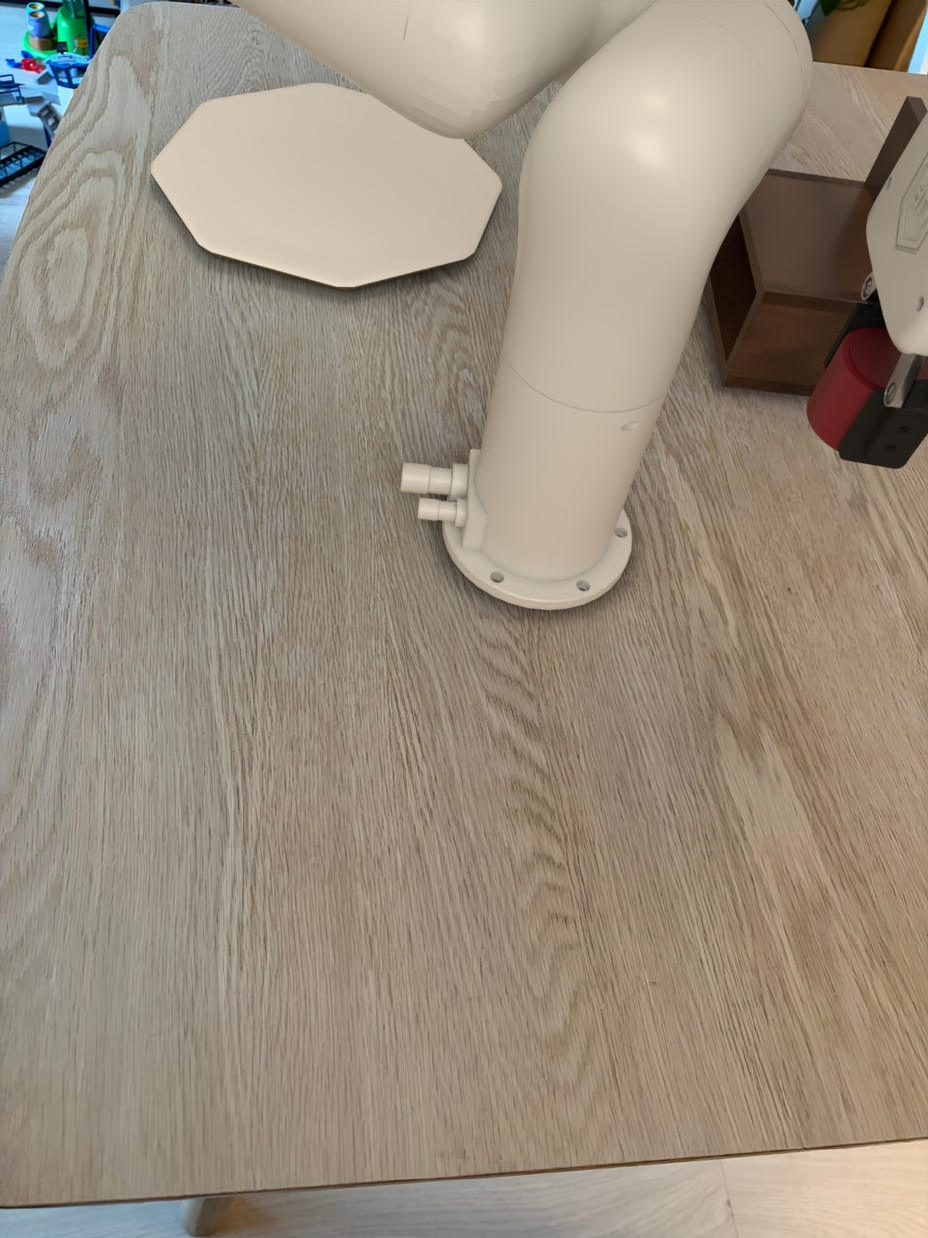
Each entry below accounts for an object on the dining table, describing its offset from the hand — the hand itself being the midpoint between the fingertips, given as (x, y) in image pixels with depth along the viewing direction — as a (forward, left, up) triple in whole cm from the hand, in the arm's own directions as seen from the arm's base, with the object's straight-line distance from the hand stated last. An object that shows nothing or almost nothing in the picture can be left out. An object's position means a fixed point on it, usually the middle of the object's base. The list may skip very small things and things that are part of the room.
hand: (861, 413), depth 50 cm
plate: (-29, +43, -19) cm, 55 cm away
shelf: (+9, +32, -19) cm, 38 cm away
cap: (0, 0, -1) cm, 1 cm away
